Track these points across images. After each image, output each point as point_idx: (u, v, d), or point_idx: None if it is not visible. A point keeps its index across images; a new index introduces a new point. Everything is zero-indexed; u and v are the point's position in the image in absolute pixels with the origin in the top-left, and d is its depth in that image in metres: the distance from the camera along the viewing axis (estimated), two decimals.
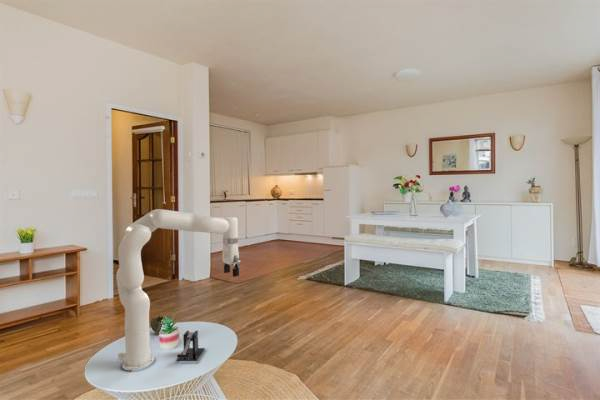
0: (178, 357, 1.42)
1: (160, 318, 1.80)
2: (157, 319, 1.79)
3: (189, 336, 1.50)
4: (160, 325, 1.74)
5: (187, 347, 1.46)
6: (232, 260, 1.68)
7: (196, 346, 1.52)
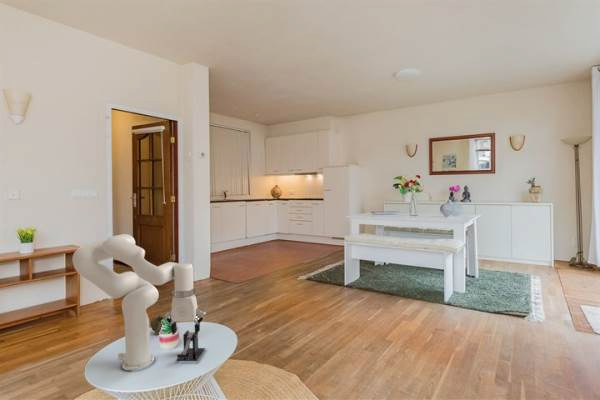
0: (178, 357, 1.42)
1: (160, 318, 1.80)
2: (157, 319, 1.79)
3: (189, 336, 1.50)
4: (160, 325, 1.74)
5: (187, 347, 1.46)
6: (195, 315, 1.41)
7: (196, 346, 1.52)
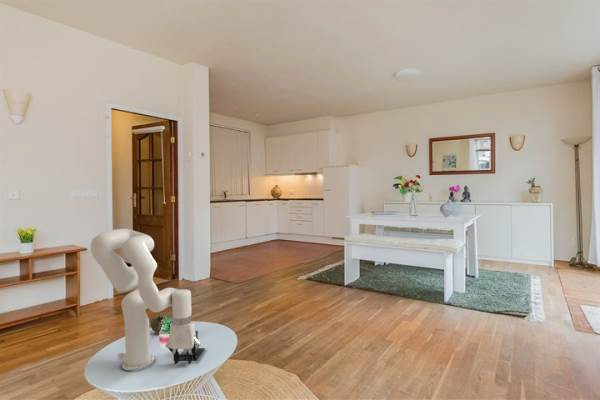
0: (178, 357, 1.42)
1: (160, 318, 1.80)
2: (157, 319, 1.79)
3: None
4: (160, 325, 1.74)
5: None
6: (193, 342, 1.40)
7: None
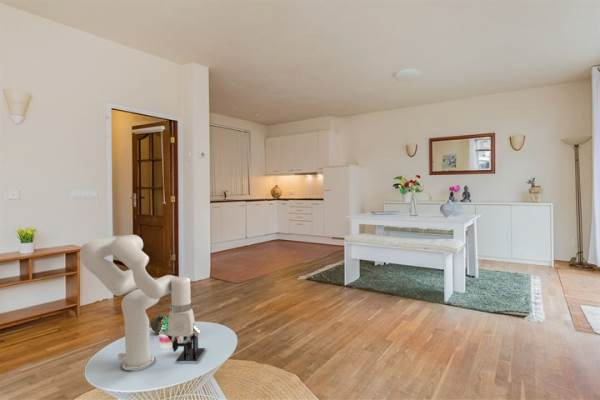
0: (177, 345, 1.41)
1: (160, 318, 1.80)
2: (157, 319, 1.79)
3: None
4: (160, 325, 1.74)
5: (187, 340, 1.45)
6: (192, 330, 1.39)
7: (196, 346, 1.52)
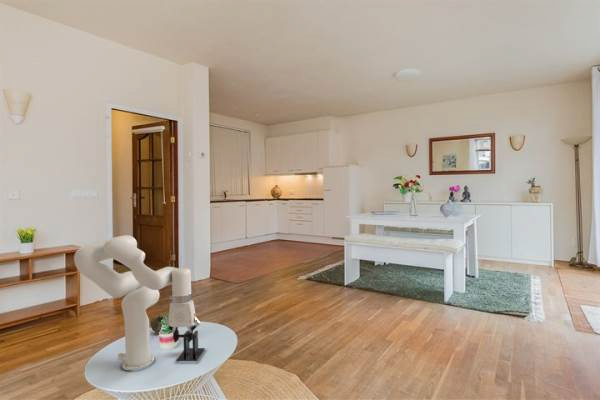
0: (177, 336, 1.42)
1: (160, 318, 1.80)
2: (157, 319, 1.79)
3: None
4: (160, 325, 1.74)
5: None
6: (193, 320, 1.40)
7: (196, 346, 1.52)
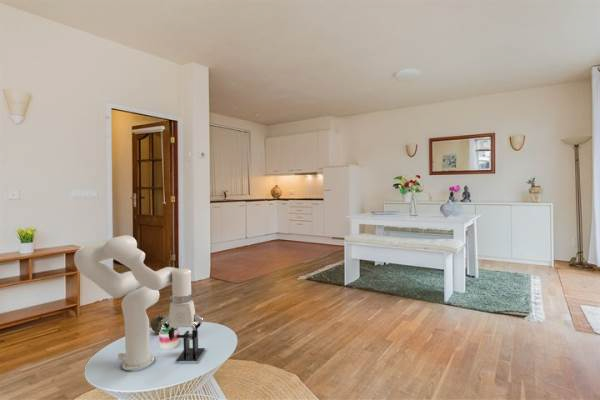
0: (177, 336, 1.42)
1: (160, 318, 1.80)
2: (157, 319, 1.79)
3: None
4: (160, 325, 1.74)
5: None
6: (193, 321, 1.40)
7: (196, 346, 1.52)
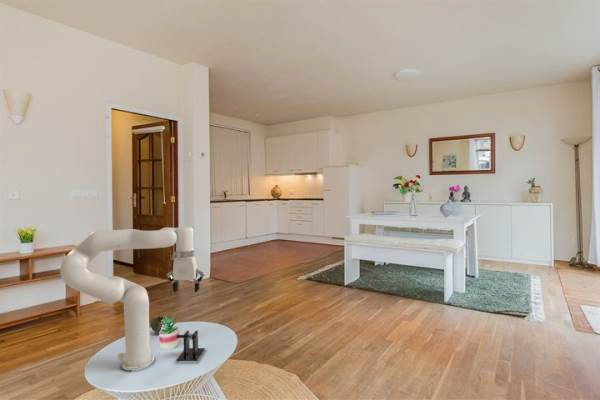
0: (177, 336, 1.42)
1: (160, 318, 1.80)
2: (157, 319, 1.79)
3: None
4: (160, 325, 1.74)
5: None
6: (195, 274, 1.52)
7: (196, 346, 1.52)
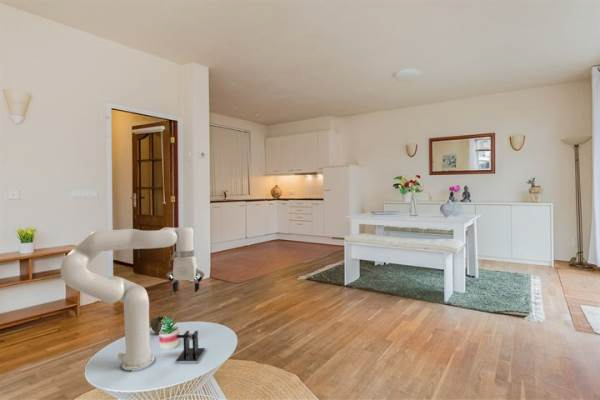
0: (177, 336, 1.42)
1: (160, 318, 1.80)
2: (157, 319, 1.79)
3: None
4: (160, 325, 1.74)
5: None
6: (195, 274, 1.53)
7: (196, 346, 1.52)
